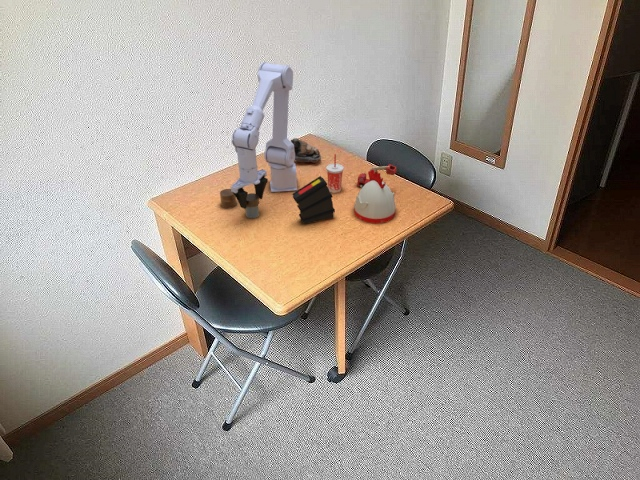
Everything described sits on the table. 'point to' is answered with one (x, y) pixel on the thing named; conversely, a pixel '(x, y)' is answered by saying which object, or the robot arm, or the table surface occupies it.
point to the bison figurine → (305, 151)
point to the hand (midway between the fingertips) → (251, 202)
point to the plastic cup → (252, 212)
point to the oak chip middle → (227, 195)
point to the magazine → (314, 201)
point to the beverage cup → (334, 176)
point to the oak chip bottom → (228, 204)
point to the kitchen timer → (375, 201)
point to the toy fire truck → (389, 170)
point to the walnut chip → (252, 200)
